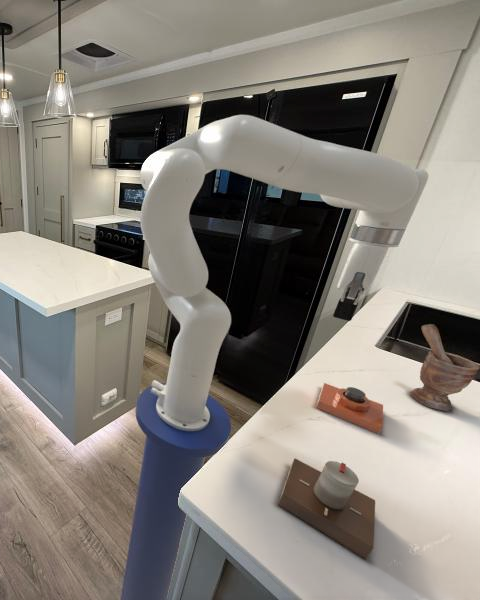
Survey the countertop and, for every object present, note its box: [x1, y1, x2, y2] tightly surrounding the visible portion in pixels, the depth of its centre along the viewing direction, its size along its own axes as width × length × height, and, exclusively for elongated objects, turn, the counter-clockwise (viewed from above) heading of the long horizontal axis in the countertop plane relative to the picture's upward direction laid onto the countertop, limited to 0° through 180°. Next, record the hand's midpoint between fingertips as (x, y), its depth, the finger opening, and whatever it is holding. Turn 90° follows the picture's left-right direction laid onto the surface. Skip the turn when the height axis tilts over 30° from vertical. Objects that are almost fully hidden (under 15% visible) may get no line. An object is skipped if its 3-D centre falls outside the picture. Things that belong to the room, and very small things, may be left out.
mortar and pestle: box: [410, 323, 480, 412], centre depth 79 cm, size 12×9×20 cm
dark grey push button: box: [344, 386, 367, 403], centre depth 76 cm, size 4×4×2 cm
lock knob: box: [314, 460, 360, 509], centre depth 52 cm, size 4×4×6 cm
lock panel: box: [277, 457, 376, 560], centre depth 54 cm, size 12×10×3 cm
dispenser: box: [315, 382, 384, 435], centre depth 77 cm, size 12×10×4 cm
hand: (341, 317), depth 69 cm, fingers closed
